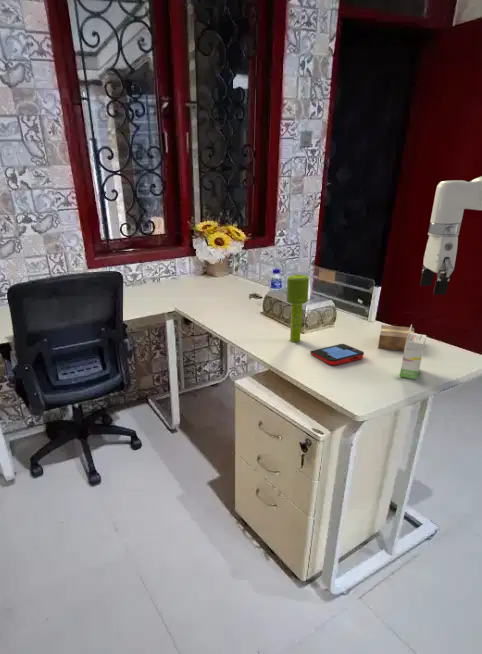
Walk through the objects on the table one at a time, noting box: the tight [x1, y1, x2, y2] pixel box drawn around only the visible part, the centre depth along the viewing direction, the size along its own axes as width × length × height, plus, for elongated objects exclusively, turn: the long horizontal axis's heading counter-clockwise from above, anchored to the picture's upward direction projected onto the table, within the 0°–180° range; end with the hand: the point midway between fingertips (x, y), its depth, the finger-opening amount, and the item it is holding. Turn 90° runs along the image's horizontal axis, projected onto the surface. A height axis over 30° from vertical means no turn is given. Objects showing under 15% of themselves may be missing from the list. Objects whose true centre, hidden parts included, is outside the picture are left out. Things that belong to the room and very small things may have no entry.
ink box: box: [399, 324, 427, 380], centre depth 127 cm, size 9×5×15 cm, turn 148°
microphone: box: [286, 274, 310, 343], centre depth 154 cm, size 8×8×25 cm
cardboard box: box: [377, 324, 415, 352], centre depth 150 cm, size 11×11×5 cm
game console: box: [309, 343, 365, 366], centre depth 144 cm, size 14×13×2 cm
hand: (432, 289), depth 123 cm, fingers open, 9 cm apart
